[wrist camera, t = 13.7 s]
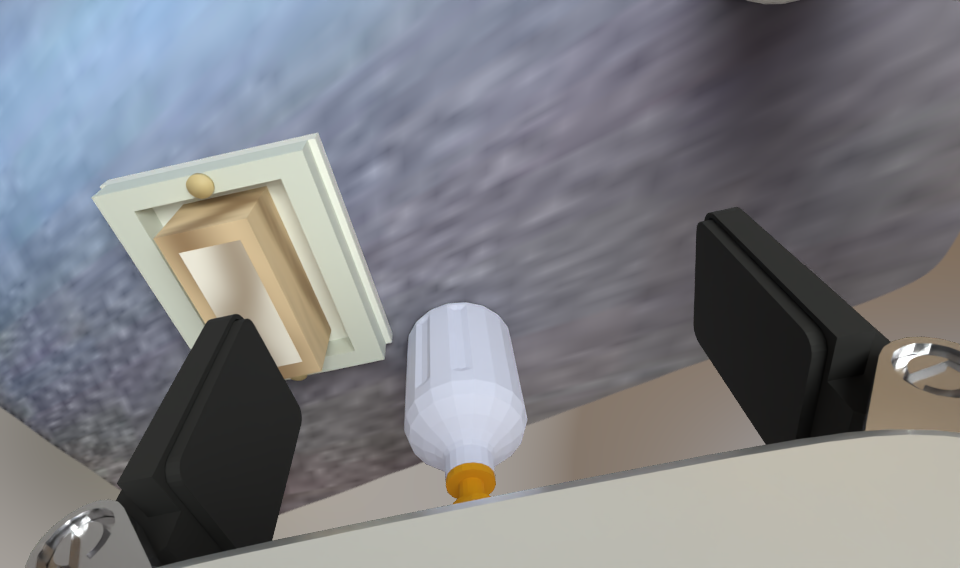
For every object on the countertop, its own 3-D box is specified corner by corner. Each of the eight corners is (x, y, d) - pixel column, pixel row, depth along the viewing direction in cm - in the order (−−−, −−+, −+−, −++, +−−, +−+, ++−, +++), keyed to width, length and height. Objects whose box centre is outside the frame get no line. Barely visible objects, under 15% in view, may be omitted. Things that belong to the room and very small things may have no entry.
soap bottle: (530, 340, 49) (607, 639, 28) (456, 394, 52) (477, 701, 31) (462, 280, 45) (493, 581, 24) (386, 342, 47) (356, 658, 27)
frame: (266, 185, 38) (246, 218, 33) (331, 329, 45) (321, 371, 40) (183, 204, 38) (153, 239, 34) (261, 344, 45) (244, 387, 41)
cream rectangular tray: (317, 131, 37) (308, 149, 34) (392, 334, 47) (390, 361, 44) (107, 179, 38) (80, 201, 35) (226, 369, 48) (212, 398, 45)
